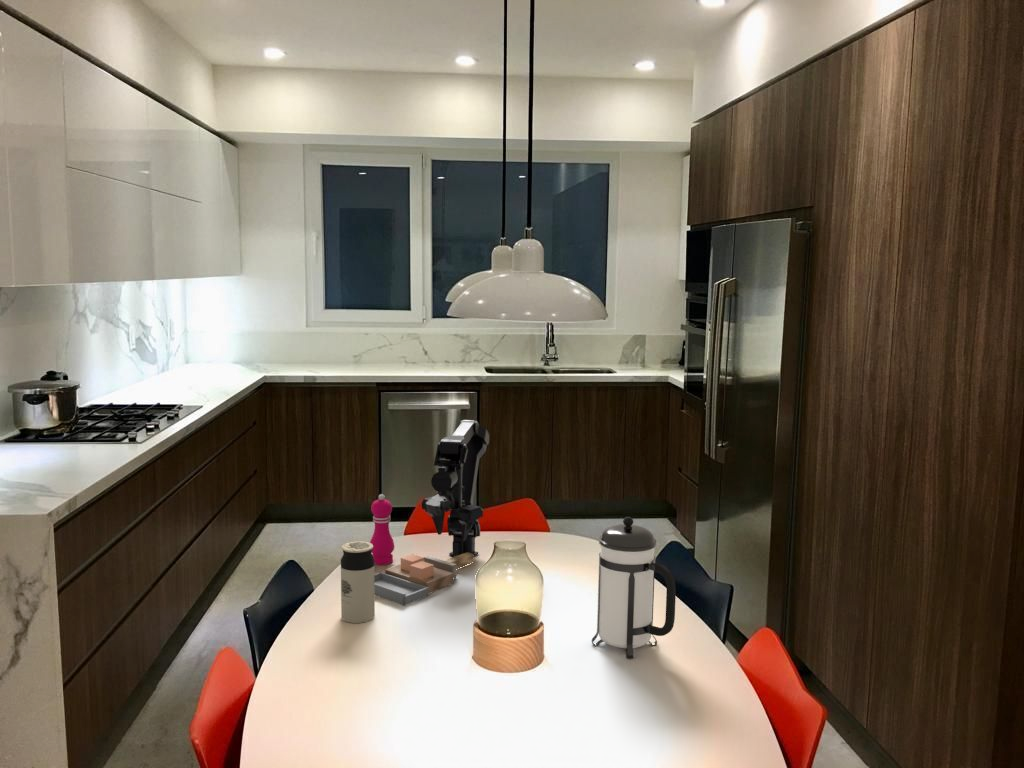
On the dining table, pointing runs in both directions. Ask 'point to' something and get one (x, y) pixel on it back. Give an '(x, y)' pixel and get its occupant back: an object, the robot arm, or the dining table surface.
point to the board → (433, 582)
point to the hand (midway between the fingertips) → (451, 537)
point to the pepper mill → (382, 532)
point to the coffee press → (630, 588)
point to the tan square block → (410, 561)
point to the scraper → (451, 562)
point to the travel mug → (357, 582)
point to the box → (398, 589)
